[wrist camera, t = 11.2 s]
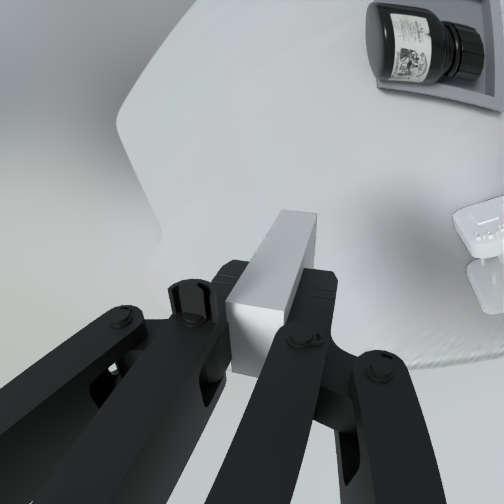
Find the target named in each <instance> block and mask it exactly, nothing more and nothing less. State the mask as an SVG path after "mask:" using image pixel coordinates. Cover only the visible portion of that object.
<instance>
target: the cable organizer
mask: <svg viewBox="0 0 504 504" xmlns="http://www.w3.org/2000/svg"><path fill="white" fill-rule="evenodd" d="M453 222H454V227H455V229H456V231H457V232H458V234H459V235H460V237H461V239H462V240H463V242H464V244H465V245H466V247H467V249H468V250H469V252H470V254H471V255H472V256H473V257H475V258H479V259H477V260H474V261H472V262H471V263H470V264H469V265H468V266H467V277H468V279H469V281H470V283H471V286H472V288H473V290H474V292H475V294H476V297H477V299H478V301H479V303H480V306H481V308H482V310H483V311H484V312H485V313H487V314H491V315H496V314H501V313H504V195H503V196H500V197H497V198H494V199H490V200H487V201H484V202H481V203H478V204H474V205H471V206H468V207H465V208H462V209H460V210H458V211H456V212H455V213H454V214H453Z"/></svg>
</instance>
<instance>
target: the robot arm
mask: <svg viewBox="0 0 504 504" xmlns="http://www.w3.org/2000/svg"><path fill="white" fill-rule="evenodd" d="M316 227H317V213H310V212H300V211H290V210H282V211H281V212H280V214H279V215H278V217H277V219H276V220H275V222H274V224H273V225H272V227H271V228H270V230H269V232H268V233H267V235H266V236H265V238H264V240H263V241H262V243H261V244H260V246H259V248H258V249H257V251H256V253H255V254H254V256H253V257H252V259H251V261H250V262H248V261H240V260H232V261H230V262H228V263H227V264H225V265H223V266H222V267H221V269H220V270H219V271H218V273H217V274H216V276H215V277H214V278H213V280H212V281H211V283H210V282H208V281H205V280H202V279H188V280H182V281H180V282H177V283H175V284H173V285H172V286H170V287H169V288H168V294H169V299H170V303H171V308H172V313H173V314H172V315H171V316H170V318H169V319H162V320H161V319H157V320H156V319H155V320H154V319H152V320H151V319H147V320H146V319H144V316H143V313H142V311H141V310H140V309H139V308H138V307H135V306H132V305H122V306H118V307H114V308H113V309H111V310H109V311H107V312H106V313H104V314H103V315H101V316H100V317H98V318H97V319H96V320H94V321H93V322H91V323H90V324H88V325H87V326H86V327H84V328H83V329H81V330H80V331H79V332H77V333H76V334H74V335H73V336H72V337H70V338H69V339H67V340H66V341H65V342H63V343H62V344H61V345H59V346H58V347H56V348H55V349H54V350H53V351H51V352H49V353H48V354H47V355H45V356H44V357H43V358H41V359H40V360H39V361H37V362H36V363H34V364H33V365H32V366H30V367H29V368H28V369H26V370H25V371H24V372H22V373H21V374H20V375H18V376H17V377H16V378H14V379H13V380H12V381H10V382H9V383H8V384H6V385H5V386H4V387H2V388H1V389H0V504H30V503H31V502H32V501H33V500H34V501H33V502H32V503H31V504H166V503H167V501H168V499H169V497H170V495H171V493H172V491H173V489H174V487H175V485H176V484H177V482H178V480H179V478H180V476H181V474H182V472H183V470H184V468H185V466H186V464H187V462H188V460H189V458H190V456H191V454H192V452H193V450H194V448H195V446H196V444H197V442H198V440H199V438H200V436H201V434H202V432H203V430H204V428H205V426H206V424H207V422H208V420H209V418H210V416H211V414H212V412H213V410H214V408H215V406H216V404H217V402H218V400H219V397H220V395H221V393H222V391H223V389H224V387H225V384H226V370H227V368H228V366H229V364H230V362H231V367H232V372H234V373H239V374H243V375H248V376H252V377H257V378H258V380H257V383H256V385H255V388H254V390H253V393H252V395H251V398H250V400H249V402H248V405H247V407H246V410H245V412H244V414H243V417H242V419H241V422H240V424H239V427H238V429H237V432H236V434H235V436H234V438H233V441H232V443H231V445H230V448H229V450H228V452H227V454H226V457H225V459H224V461H223V464H222V466H221V468H220V470H219V472H218V475H217V477H216V479H215V482H214V484H213V486H212V488H211V490H210V492H209V494H208V497H207V499H206V501H205V503H204V504H290V502H291V499H292V496H293V492H294V489H295V485H296V482H297V479H298V475H299V471H300V468H301V464H302V460H303V457H304V453H305V449H306V445H307V441H308V437H309V433H310V429H311V425H312V420H315V421H317V422H319V423H321V424H323V425H325V426H328V427H330V428H332V429H334V434H335V442H336V443H335V444H336V453H337V462H338V463H337V464H338V474H339V486H340V499H341V504H447V503H446V498H445V494H444V489H443V486H442V482H441V477H440V473H439V469H438V465H437V461H436V458H435V455H434V450H433V447H432V443H431V440H430V436H429V433H428V429H427V426H426V423H425V420H424V416H423V414H422V410H421V407H420V404H419V401H418V398H417V395H416V392H415V389H414V386H413V383H412V381H411V378H410V375H409V372H408V369H407V367H406V365H405V364H404V362H403V360H401V359H400V358H399V357H398V356H396V355H395V354H393V353H390V352H387V351H382V350H372V351H368V352H365V353H363V354H362V355H360V356H358V357H357V356H354V355H352V354H349V353H347V352H345V351H343V350H342V349H340V348H339V347H338V346H337V345H336V344H335V343H334V341H333V340H332V337H331V324H332V318H333V312H334V305H335V298H336V291H337V284H338V280H337V278H336V276H335V274H334V273H333V272H332V271H325V270H317V269H313V267H314V255H315V242H316ZM114 363H115V364H116V367H117V370H115V371H113V372H109V370H108V368H109V367H110V366H111V365H112V364H114Z"/></svg>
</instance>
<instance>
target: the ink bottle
mask: <svg viewBox="0 0 504 504" xmlns="http://www.w3.org/2000/svg"><path fill="white" fill-rule="evenodd" d="M366 47H367V54H368V59H369V63H370V66H371V69H372V71H373V73H374V75H375V77H376V78H378V79H382V80H396V81H408V82H418V83H434V82H436V81H437V80H438V79H439V78H440V77H441V76H442V75H444V76H446V77H450V78H456V79H462V80H467V81H476V79H478V78H479V77H480V76H481V73H482V70H483V68H484V58H485V55H484V45H483V43H482V40H481V37H480V34H478V32H477V31H476V30H475V28H472V27H470V26H467V25H463V24H459V23H454V22H450V21H440V20H439V19H438V17H437V16H436V15H435V14H434V13H433V12H432V11H430V10H428V9H425V8H420V7H414V6H407V5H399V4H390V3H380V2H372V3H370V4H369V6H368V8H367V13H366Z"/></svg>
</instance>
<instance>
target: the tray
mask: <svg viewBox="0 0 504 504" xmlns="http://www.w3.org/2000/svg"><path fill="white" fill-rule="evenodd" d="M374 2H380V3H390V4H399V5H407V6H414V7H420V8H425V9H428V10H430V11H432V12H433V13H434V14H435V15H436V16H437V17H438V19H439V20H440V21H450V22H454V23H459V24H463V25H467V26H470V27H472V28H475V30H476V31H477V32H478V34H480V37H481V40H482V43H483V45H484V55H485V58H484V68H483V70H482V73H481V76H480V77H479V78H478V79H476V81H467V80H462V79H456V78H450V77H446V76H444V75H442V76H441V77H440V78H439V79H438V80H437V81H436V82H434V83H418V82H408V81H396V80H382V79H378V78H377V88H385V89H393V90H400V91H406V92H413V93H419V94H424V95H430V96H435V97H440V98H445V99H450V100H454V101H459V102H463V103H467V104H471V105H475V106H479V107H483V108H487V109H490V110H494V111H500V112H504V37H503V25H502V16H501V8H500V1H499V0H374Z"/></svg>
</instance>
